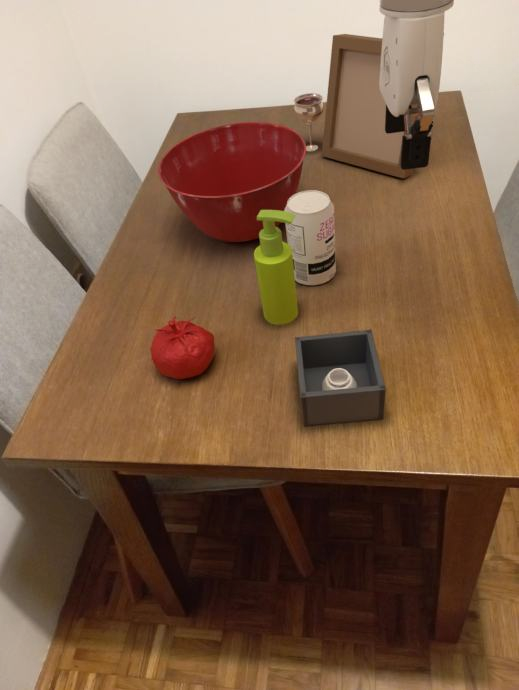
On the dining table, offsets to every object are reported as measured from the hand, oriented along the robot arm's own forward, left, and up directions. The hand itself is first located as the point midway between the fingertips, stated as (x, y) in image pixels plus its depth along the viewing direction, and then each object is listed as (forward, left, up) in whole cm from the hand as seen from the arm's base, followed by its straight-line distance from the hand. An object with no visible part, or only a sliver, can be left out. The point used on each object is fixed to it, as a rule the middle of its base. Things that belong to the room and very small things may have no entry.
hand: (405, 148), depth 67 cm
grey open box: (+6, +16, -25) cm, 30 cm away
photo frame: (-7, -52, -28) cm, 60 cm away
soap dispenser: (+18, -2, -28) cm, 34 cm away
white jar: (+11, +16, -28) cm, 34 cm away
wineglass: (+8, -60, -28) cm, 67 cm away
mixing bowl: (+25, -31, -28) cm, 49 cm away
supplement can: (+12, -12, -28) cm, 33 cm away
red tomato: (+34, +7, -28) cm, 45 cm away
